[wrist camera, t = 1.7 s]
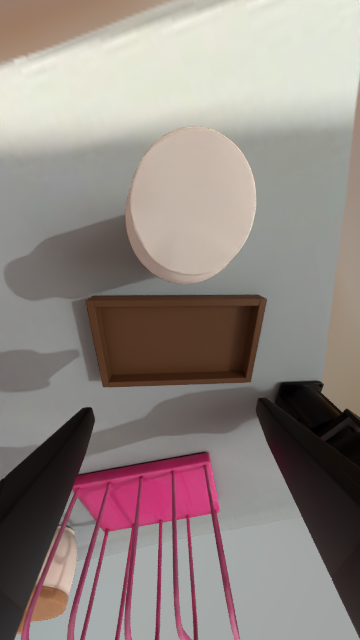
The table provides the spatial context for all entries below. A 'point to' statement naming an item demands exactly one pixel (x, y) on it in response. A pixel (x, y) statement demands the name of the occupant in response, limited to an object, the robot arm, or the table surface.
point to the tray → (175, 338)
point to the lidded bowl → (55, 579)
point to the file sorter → (138, 510)
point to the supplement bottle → (190, 205)
